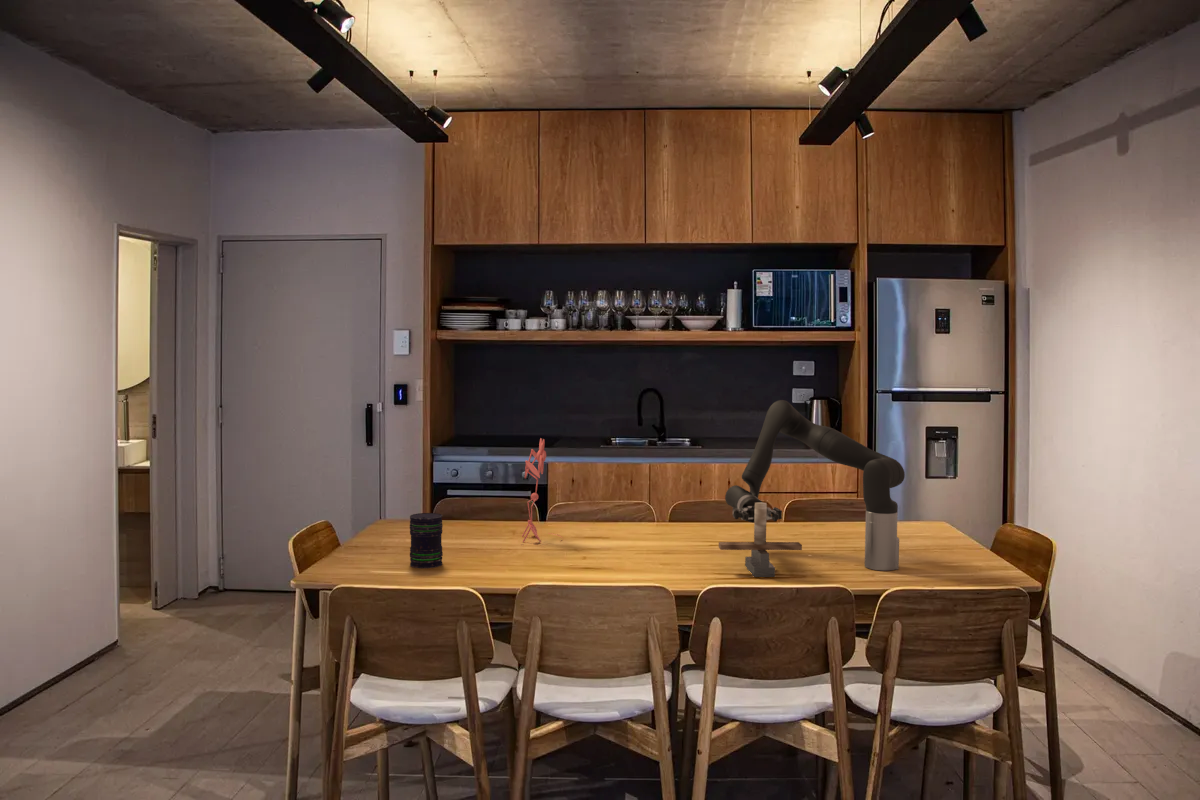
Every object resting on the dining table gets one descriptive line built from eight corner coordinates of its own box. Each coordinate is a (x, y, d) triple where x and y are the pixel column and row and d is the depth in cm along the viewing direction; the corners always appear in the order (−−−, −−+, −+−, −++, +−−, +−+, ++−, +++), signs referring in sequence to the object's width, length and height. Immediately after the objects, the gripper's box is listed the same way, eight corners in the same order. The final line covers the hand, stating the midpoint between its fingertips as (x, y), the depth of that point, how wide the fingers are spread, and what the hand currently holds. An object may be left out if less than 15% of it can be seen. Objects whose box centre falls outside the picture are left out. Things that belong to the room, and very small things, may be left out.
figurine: (520, 547, 304) (523, 441, 303) (519, 532, 330) (521, 434, 328) (567, 547, 306) (570, 442, 304) (561, 532, 332) (564, 435, 330)
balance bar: (798, 547, 276) (799, 502, 275) (801, 550, 272) (802, 504, 271) (718, 546, 275) (719, 502, 274) (720, 549, 271) (721, 504, 270)
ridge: (764, 566, 281) (765, 543, 280) (774, 577, 267) (775, 553, 266) (745, 566, 281) (745, 543, 280) (754, 577, 267) (754, 553, 266)
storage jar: (414, 560, 285) (413, 512, 284) (445, 560, 285) (445, 513, 284) (406, 568, 275) (406, 518, 274) (438, 568, 275) (438, 519, 274)
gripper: (728, 496, 287) (737, 505, 271) (773, 496, 287) (785, 505, 271) (728, 520, 287) (737, 530, 271) (773, 520, 288) (785, 530, 272)
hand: (761, 517), depth 271 cm, fingers open, 8 cm apart
